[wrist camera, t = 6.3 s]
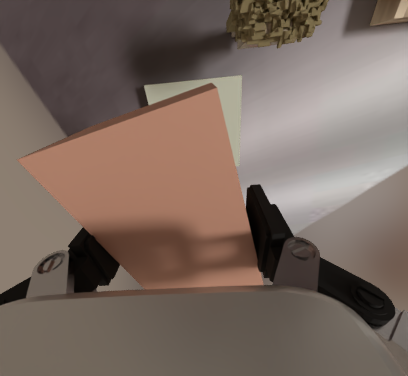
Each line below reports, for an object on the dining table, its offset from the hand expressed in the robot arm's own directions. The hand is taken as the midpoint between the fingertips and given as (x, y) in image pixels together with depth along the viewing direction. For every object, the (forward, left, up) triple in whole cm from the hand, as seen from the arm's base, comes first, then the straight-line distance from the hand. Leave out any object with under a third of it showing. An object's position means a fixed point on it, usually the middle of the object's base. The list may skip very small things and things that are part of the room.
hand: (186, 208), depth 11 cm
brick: (0, 0, -1) cm, 1 cm away
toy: (-12, +8, -22) cm, 26 cm away
